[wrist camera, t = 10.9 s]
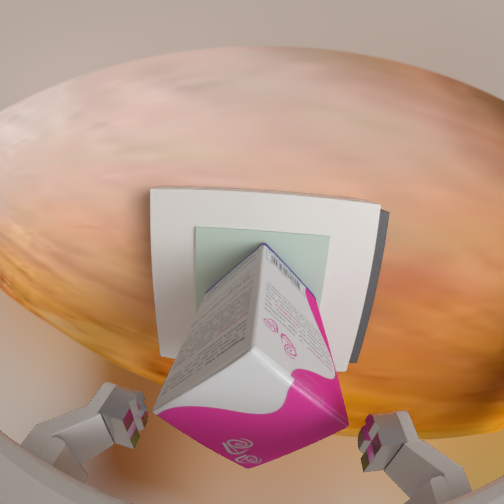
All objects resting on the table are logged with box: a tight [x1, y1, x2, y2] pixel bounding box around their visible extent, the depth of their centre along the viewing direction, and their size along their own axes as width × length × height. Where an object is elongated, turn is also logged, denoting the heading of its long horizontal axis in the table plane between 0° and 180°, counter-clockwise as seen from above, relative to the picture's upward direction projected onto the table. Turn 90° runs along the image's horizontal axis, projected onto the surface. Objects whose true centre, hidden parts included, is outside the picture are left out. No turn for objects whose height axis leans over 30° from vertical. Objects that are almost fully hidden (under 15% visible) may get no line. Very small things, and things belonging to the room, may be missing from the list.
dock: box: [150, 186, 389, 372], centre depth 22 cm, size 17×14×3 cm
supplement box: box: [153, 242, 349, 468], centre depth 14 cm, size 6×6×12 cm
